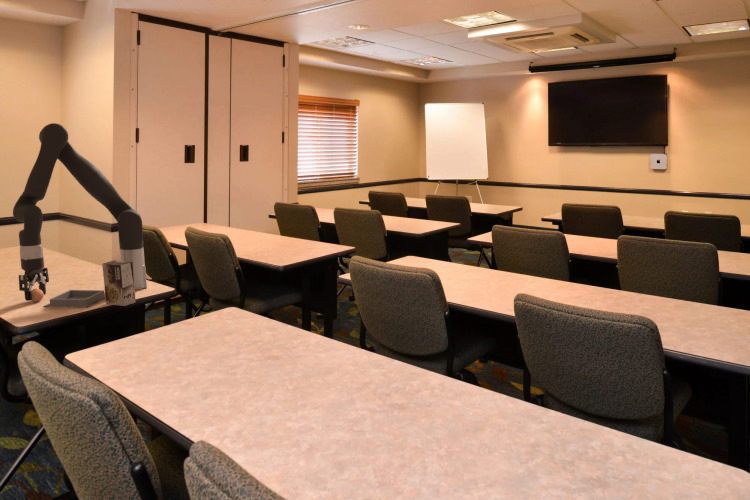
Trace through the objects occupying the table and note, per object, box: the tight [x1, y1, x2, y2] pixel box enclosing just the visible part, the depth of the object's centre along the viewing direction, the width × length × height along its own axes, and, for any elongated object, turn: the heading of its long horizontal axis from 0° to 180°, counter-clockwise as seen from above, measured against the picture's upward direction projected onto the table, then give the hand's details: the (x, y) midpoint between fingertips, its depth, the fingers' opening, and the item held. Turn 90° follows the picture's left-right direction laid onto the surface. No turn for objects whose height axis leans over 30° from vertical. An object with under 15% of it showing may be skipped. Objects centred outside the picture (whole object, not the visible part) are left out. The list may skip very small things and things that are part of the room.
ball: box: [31, 288, 45, 303], centre depth 214 cm, size 5×5×5 cm
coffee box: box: [101, 259, 136, 307], centre depth 212 cm, size 9×6×16 cm
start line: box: [42, 302, 51, 308], centre depth 214 cm, size 2×14×1 cm, turn 179°
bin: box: [49, 289, 106, 309], centre depth 214 cm, size 14×14×3 cm
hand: (35, 297), depth 214 cm, fingers open, 8 cm apart
